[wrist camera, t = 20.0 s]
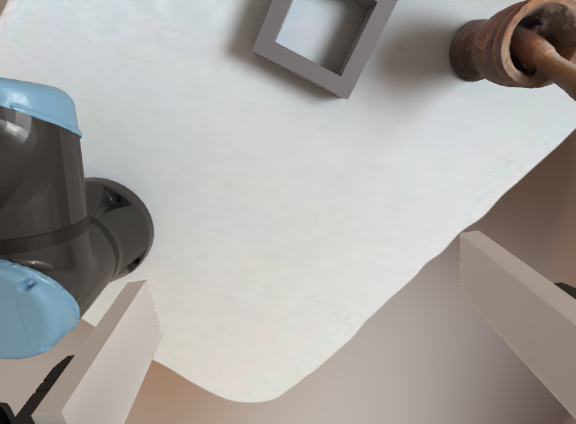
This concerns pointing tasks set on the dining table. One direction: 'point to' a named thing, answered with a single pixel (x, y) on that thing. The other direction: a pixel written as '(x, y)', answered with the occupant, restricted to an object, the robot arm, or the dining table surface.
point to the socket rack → (339, 84)
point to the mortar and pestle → (521, 46)
